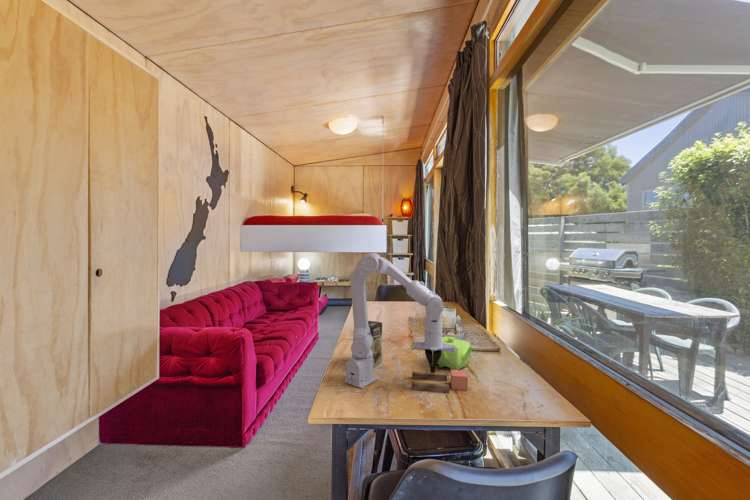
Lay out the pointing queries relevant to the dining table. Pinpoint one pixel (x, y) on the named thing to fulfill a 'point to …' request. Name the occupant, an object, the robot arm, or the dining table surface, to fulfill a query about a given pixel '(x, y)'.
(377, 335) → the coffee box
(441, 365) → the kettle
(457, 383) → the block
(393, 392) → the dining table surface
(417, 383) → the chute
